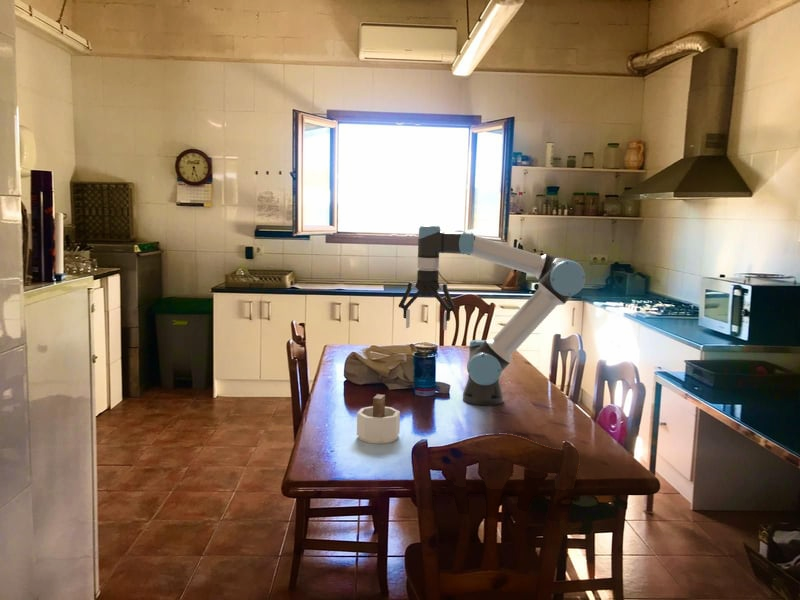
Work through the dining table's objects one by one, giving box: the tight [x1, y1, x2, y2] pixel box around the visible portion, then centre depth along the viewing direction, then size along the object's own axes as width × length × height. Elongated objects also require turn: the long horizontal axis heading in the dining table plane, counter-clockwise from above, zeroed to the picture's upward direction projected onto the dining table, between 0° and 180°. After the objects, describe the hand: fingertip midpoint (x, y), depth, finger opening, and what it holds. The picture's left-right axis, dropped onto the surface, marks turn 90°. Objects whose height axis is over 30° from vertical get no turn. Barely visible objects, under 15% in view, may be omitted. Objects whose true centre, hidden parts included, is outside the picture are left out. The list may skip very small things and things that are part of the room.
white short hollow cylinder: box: [356, 405, 401, 445], centre depth 203 cm, size 12×12×8 cm
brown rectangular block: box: [372, 393, 386, 418], centre depth 203 cm, size 2×4×12 cm, turn 165°
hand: (426, 328), depth 233 cm, fingers open, 13 cm apart
